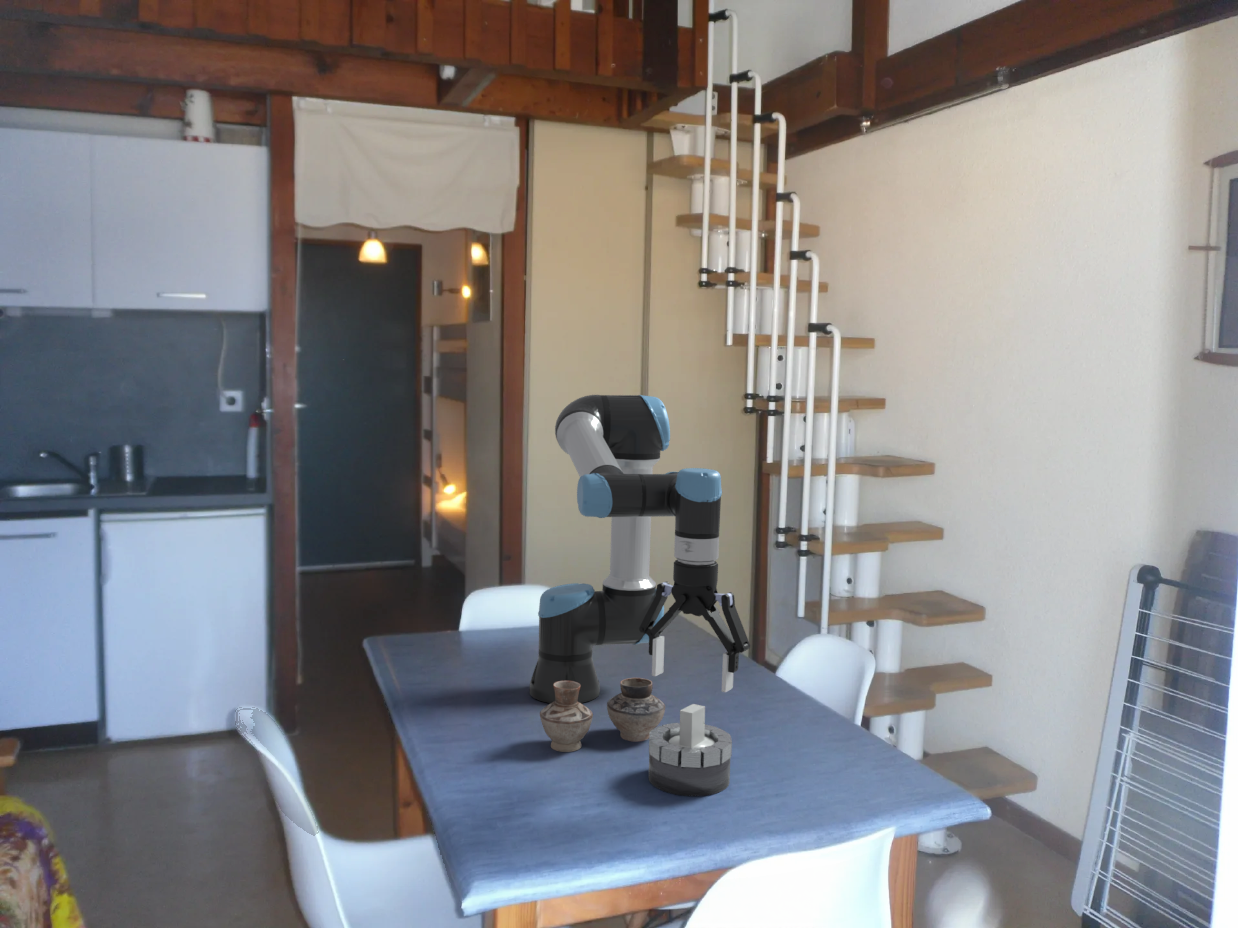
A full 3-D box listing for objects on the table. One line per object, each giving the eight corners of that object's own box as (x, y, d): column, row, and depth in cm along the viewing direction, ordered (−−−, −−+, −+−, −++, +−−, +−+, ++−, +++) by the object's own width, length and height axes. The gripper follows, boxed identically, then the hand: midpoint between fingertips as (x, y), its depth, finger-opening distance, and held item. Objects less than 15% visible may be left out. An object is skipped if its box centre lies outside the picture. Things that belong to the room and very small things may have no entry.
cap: (659, 752, 172) (660, 709, 171) (683, 739, 178) (684, 697, 178) (700, 763, 167) (701, 719, 166) (723, 749, 174) (724, 706, 173)
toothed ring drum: (632, 782, 171) (633, 740, 170) (673, 756, 183) (675, 716, 182) (705, 803, 163) (707, 759, 163) (743, 775, 175) (745, 733, 175)
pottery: (530, 740, 190) (531, 678, 188) (647, 722, 200) (649, 664, 199) (552, 762, 179) (554, 697, 178) (674, 742, 190) (676, 681, 189)
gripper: (622, 553, 173) (618, 672, 175) (753, 574, 160) (748, 703, 162) (644, 547, 179) (641, 662, 182) (773, 566, 166) (767, 690, 168)
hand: (691, 681), depth 172 cm, fingers open, 13 cm apart
